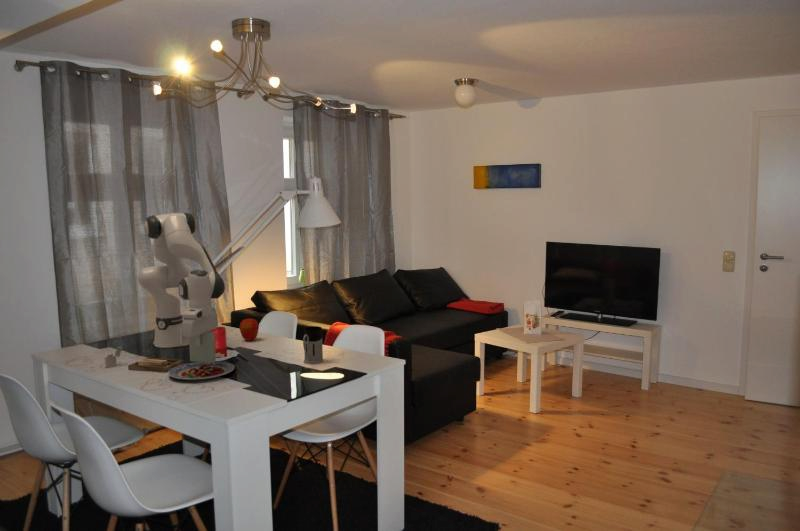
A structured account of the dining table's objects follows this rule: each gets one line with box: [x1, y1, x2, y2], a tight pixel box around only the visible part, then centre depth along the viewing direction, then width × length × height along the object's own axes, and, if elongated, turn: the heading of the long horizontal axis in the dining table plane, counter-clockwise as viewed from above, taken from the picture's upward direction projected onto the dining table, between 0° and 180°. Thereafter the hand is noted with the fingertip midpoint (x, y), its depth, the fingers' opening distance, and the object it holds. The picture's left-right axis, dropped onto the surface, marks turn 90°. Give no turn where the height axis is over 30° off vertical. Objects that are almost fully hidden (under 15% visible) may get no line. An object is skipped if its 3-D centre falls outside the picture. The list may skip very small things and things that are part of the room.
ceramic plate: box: [167, 360, 235, 381], centre depth 256 cm, size 26×26×3 cm
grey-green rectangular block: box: [188, 331, 217, 363], centre depth 256 cm, size 3×10×12 cm, turn 75°
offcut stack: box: [137, 358, 168, 367], centre depth 265 cm, size 5×12×4 cm, turn 78°
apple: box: [239, 318, 260, 342], centre depth 313 cm, size 9×9×12 cm
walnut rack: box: [127, 357, 185, 373], centre depth 267 cm, size 13×18×2 cm
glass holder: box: [302, 325, 325, 365], centre depth 270 cm, size 9×14×15 cm, turn 164°
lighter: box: [104, 346, 123, 369], centre depth 269 cm, size 7×2×8 cm, turn 137°
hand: (202, 343), depth 255 cm, fingers closed on grey-green rectangular block, 3 cm apart
